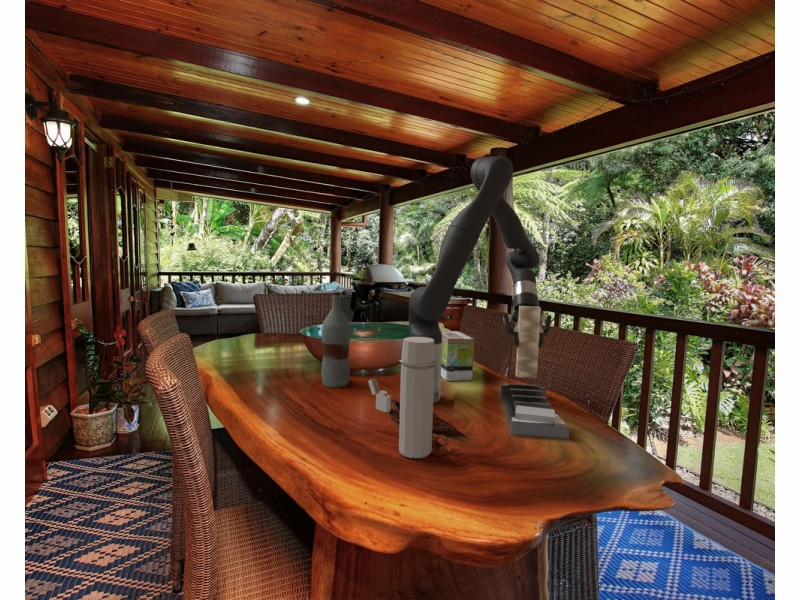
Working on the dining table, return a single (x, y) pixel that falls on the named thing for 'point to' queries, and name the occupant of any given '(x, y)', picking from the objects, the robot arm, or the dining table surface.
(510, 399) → the rack
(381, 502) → the dining table surface
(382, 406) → the lighter
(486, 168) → the robot arm
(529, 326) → the beige tall block
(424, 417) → the water bottle
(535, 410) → the offcut stack
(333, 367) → the vodka
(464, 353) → the tea box
